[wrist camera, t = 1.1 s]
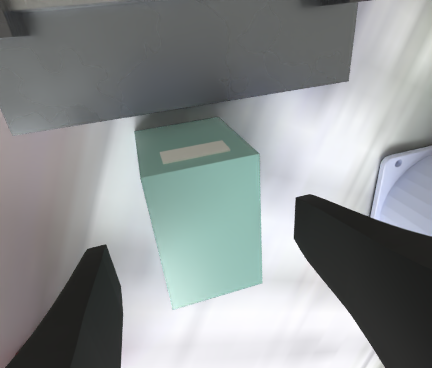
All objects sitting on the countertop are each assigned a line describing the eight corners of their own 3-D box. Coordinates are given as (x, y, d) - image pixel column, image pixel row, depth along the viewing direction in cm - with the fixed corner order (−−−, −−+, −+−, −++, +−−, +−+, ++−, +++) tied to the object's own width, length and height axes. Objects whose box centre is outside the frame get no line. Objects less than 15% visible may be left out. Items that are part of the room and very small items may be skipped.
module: (217, 115, 14) (259, 151, 10) (227, 220, 17) (262, 283, 13) (134, 130, 13) (140, 175, 9) (159, 237, 16) (172, 309, 12)
